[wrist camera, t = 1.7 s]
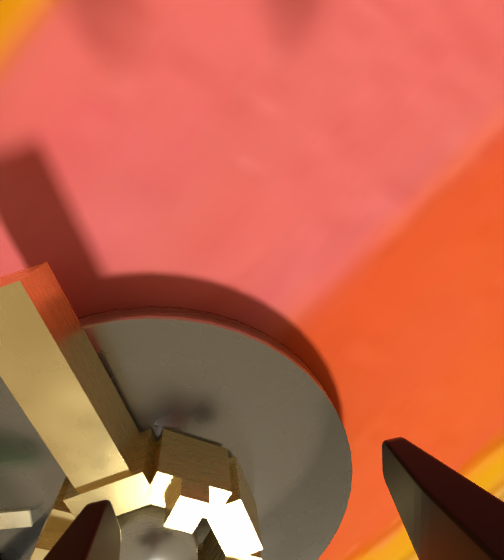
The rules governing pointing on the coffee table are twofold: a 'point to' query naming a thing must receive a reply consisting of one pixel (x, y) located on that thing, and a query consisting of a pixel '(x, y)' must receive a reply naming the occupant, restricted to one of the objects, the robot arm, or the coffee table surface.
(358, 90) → the coffee table surface
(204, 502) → the brass ring wrench
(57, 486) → the flange
